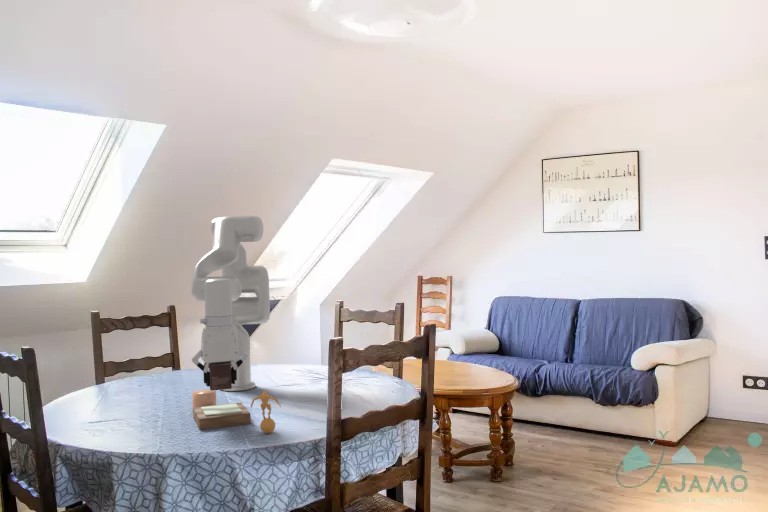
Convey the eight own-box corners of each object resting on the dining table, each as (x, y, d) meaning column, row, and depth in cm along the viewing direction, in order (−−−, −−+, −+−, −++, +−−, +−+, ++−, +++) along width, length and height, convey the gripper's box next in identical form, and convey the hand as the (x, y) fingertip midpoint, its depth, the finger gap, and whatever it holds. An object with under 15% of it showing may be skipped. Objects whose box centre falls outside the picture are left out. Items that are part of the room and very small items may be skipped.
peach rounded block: (191, 410, 211) (190, 390, 211) (214, 407, 214) (214, 388, 214) (194, 415, 205) (193, 395, 205) (218, 413, 207) (217, 393, 207)
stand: (193, 417, 202) (193, 406, 202) (241, 412, 208) (241, 401, 207) (199, 429, 189) (199, 417, 189) (250, 423, 195) (250, 411, 195)
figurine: (284, 430, 187) (283, 386, 186) (279, 437, 181) (278, 391, 181) (254, 430, 188) (253, 386, 187) (248, 437, 182) (247, 391, 181)
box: (231, 389, 196) (231, 363, 196) (210, 391, 194) (209, 365, 194) (230, 385, 202) (230, 360, 202) (209, 386, 200) (208, 361, 200)
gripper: (189, 325, 191) (190, 390, 191) (251, 321, 197) (253, 384, 198) (186, 322, 198) (187, 384, 198) (246, 318, 204) (248, 379, 205)
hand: (220, 383), depth 198 cm, fingers closed on box, 6 cm apart
